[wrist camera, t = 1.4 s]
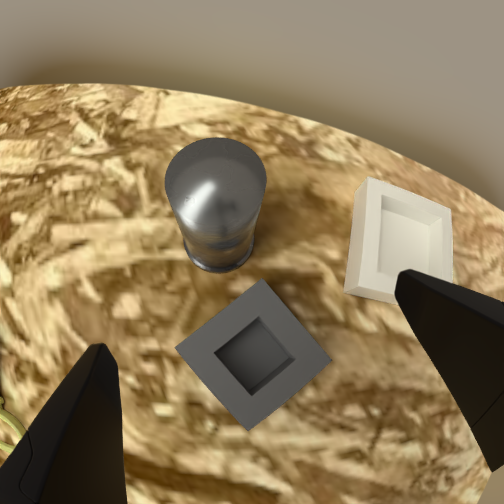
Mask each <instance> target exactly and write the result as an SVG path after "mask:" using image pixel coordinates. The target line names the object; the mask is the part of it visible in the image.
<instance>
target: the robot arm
mask: <svg viewBox="0 0 504 504" xmlns="http://www.w3.org/2000/svg"><path fill="white" fill-rule="evenodd" d="M394 295H395V299H396V301H397V303H398V305H399V306H400V308H401V310H402V312H403V314H404V315H405V317H406V319H407V321H408V323H409V325H410V327H411V329H412V330H413V332H414V334H415V336H416V337H417V339H418V341H419V342H420V344H421V345H422V347H423V348H424V350H425V351H426V353H427V354H428V356H429V358H430V359H431V361H432V362H433V364H434V366H435V367H436V369H437V371H438V372H439V374H440V375H441V377H442V379H443V380H444V382H445V384H446V386H447V387H448V389H449V391H450V392H451V394H452V396H453V398H454V399H455V401H456V403H457V405H458V406H459V408H460V410H461V412H462V414H463V416H464V417H465V419H466V421H467V423H468V425H469V427H470V428H471V431H472V433H473V435H474V437H475V439H476V441H477V443H478V445H479V447H480V449H481V451H482V453H483V455H484V457H485V460H486V462H487V464H488V466H489V468H490V470H491V472H494V471H495V470H497V469H498V468H500V467H501V466H503V465H504V302H503V301H502V302H501V301H500V300H497V299H494V298H492V297H489V296H486V295H484V294H481V293H478V292H475V291H473V290H470V289H467V288H464V287H462V286H459V285H456V284H453V283H450V282H448V281H445V280H442V279H439V278H436V277H433V276H430V275H427V274H425V273H422V272H419V271H416V270H413V269H406V270H403V271H401V272H399V274H398V276H397V281H396V286H395V291H394ZM0 504H128V503H127V495H126V485H125V473H124V458H123V433H122V407H121V398H120V387H119V375H118V366H117V363H116V360H115V359H114V357H113V356H112V354H111V352H110V351H109V349H108V347H107V346H106V344H104V343H95V344H91V345H90V346H89V347H88V348H87V350H86V351H85V352H84V354H83V355H82V356H81V357H80V359H79V360H78V361H77V362H76V364H75V365H74V366H73V368H72V369H71V370H70V371H69V373H68V374H67V375H66V377H65V378H64V379H63V381H62V382H61V383H60V385H59V386H58V387H57V389H56V390H55V391H54V393H53V394H52V395H51V397H50V398H49V400H48V401H47V402H46V404H45V405H44V406H43V408H42V409H41V411H40V412H39V413H38V415H37V416H36V418H35V419H34V421H33V422H32V423H31V425H30V426H29V428H28V431H26V432H25V434H24V435H23V437H22V438H21V440H20V441H19V442H18V444H17V445H16V447H15V448H14V450H13V451H12V453H11V454H10V455H9V457H8V458H7V459H6V461H5V462H4V463H3V465H2V466H1V467H0Z"/></svg>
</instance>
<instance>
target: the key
mask: <svg viewBox="0 0 504 504" xmlns="http://www.w3.org/2000/svg"><path fill="white" fill-rule="evenodd" d="M3 403H4V399H3V398H2V397H0V419H2V420H4V421H5V422H6V423H8V424H9V425H10V426H11V427H12V428H13V429H14V430H15V431H16V433H17V434H18V436H19V438H20V440H21V438H22V437H23V435H24V434H25V432H26V430H25V429H24V427H23V426H22V424H21V423H20V422H19V421H18V420H17V419H16V418H15V417H14V416H13V415H12V414H10V413H9V412H7V411H5V410H4V409H2V404H3ZM15 447H16V446H12V445H9V444H6V443H4V442H3V441H1V440H0V448H1V449H2V450H4V451H6V452H8V453H10V454H11V453H12V451H13V450H14V448H15Z"/></svg>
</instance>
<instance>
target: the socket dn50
mask: <svg viewBox="0 0 504 504" xmlns="http://www.w3.org/2000/svg"><path fill="white" fill-rule="evenodd" d="M406 269H413V270H416V271H419V272H422V273H425V274H427V275H430V276H433V277H436V278H439V279H442V280H445V281H448V282H450V283H453V238H452V219H451V209H449V208H447V207H445V206H443V205H440V204H438V203H436V202H433V201H431V200H429V199H426V198H424V197H422V196H419V195H417V194H414V193H412V192H409V191H407V190H404V189H402V188H399V187H396V186H394V185H391V184H388V183H386V182H383V181H380V180H377V179H375V178H372V177H369V176H367V178H366V179H365V180H364V181H363V183H362V184H361V185H360V186H359V187H358V189H357V190H356V191H355V195H354V208H353V219H352V228H351V238H350V246H349V254H348V262H347V270H346V277H345V283H344V290H343V293H347V294H351V295H355V296H360V297H364V298H369V299H373V300H377V301H382V302H386V303H391V304H395V305H398V303H397V301H396V299H395V295H394V291H395V286H396V281H397V276H398V274H399V272H401V271H403V270H406Z"/></svg>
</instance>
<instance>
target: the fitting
mask: <svg viewBox="0 0 504 504" xmlns="http://www.w3.org/2000/svg"><path fill="white" fill-rule="evenodd" d="M265 188H266V171H265V168H264V165H263V163H262V161H261V159H260V158H259V157H258V155H257V154H256V153H255V152H254V151H253V150H252V149H251V148H249V147H248V146H246V145H244V144H243V143H241V142H238V141H235V140H232V139H228V138H217V137H216V138H207V139H202V140H198V141H196V142H193V143H191V144H189V145H188V146H186V147H185V148H183V149H182V150H181V151H179V152H178V153H177V154H176V155H175V157H174V158H173V159H172V161H171V162H170V164H169V166H168V168H167V171H166V175H165V190H166V194H167V197H168V199H169V202H170V205H171V207H172V210H173V212H174V215H175V218H176V220H177V223H178V225H179V228H180V230H181V233H182V235H183V239H184V247H185V250H186V252H187V254H188V256H189V258H190V259H191V261H192V262H193V263H194V264H195V265H196V266H197V267H199V268H201V269H202V270H204V271H207V272H210V273H227V272H230V271H233V270H235V269H237V268H239V267H240V266H241V265H242V264H244V263H245V261H246V260H247V259H248V257H249V256H250V254H251V252H252V248H253V245H254V230H255V226H256V223H257V219H258V215H259V211H260V207H261V204H262V200H263V196H264V192H265Z"/></svg>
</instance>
